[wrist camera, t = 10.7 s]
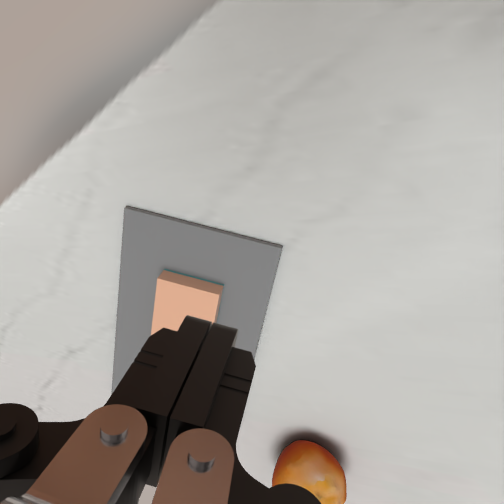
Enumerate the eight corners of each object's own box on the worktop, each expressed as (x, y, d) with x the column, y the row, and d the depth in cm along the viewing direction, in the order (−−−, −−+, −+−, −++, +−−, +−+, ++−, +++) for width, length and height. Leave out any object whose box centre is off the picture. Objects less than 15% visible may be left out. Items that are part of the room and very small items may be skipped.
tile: (219, 294, 41) (201, 390, 46) (224, 284, 43) (206, 377, 48) (157, 278, 41) (146, 375, 47) (164, 268, 43) (153, 362, 49)
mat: (282, 245, 41) (282, 248, 40) (236, 428, 51) (235, 432, 51) (127, 205, 42) (124, 208, 41) (113, 393, 52) (111, 396, 52)
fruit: (248, 468, 52) (263, 510, 44) (292, 414, 53) (313, 445, 45) (299, 507, 53) (321, 554, 45) (340, 454, 54) (370, 491, 46)
